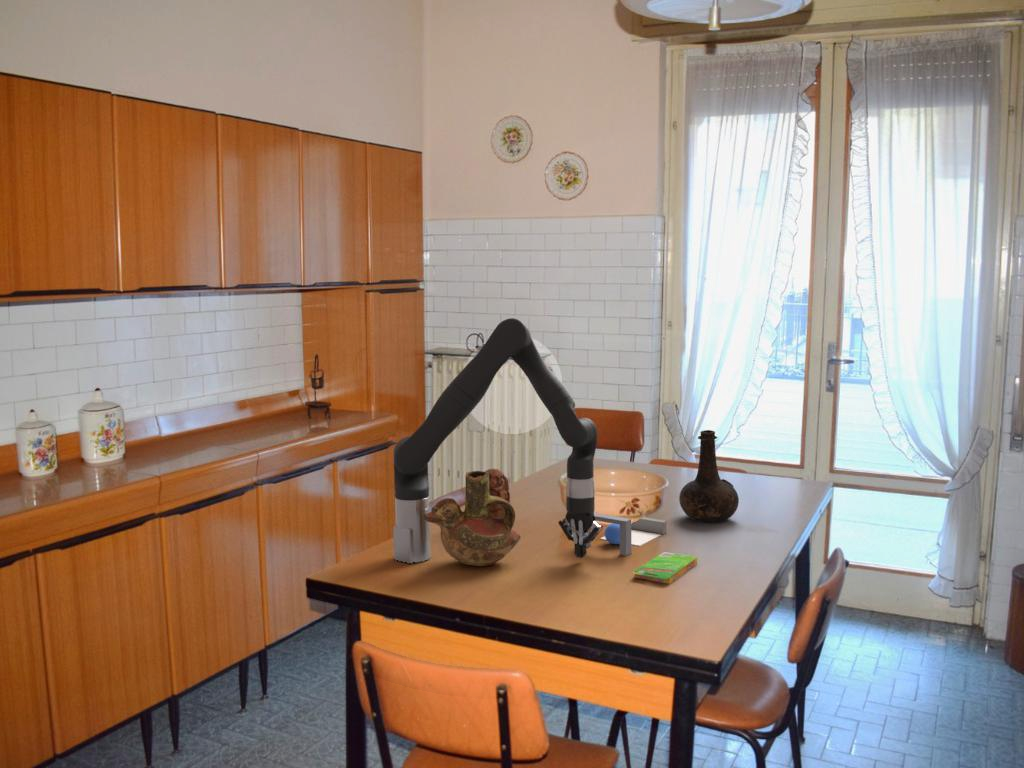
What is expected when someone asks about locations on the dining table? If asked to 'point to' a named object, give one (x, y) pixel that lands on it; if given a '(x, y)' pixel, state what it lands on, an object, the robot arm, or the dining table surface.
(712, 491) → the glass bottle
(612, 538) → the ball
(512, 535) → the ceramic vessel
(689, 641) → the dining table surface
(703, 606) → the dining table surface
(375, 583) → the dining table surface
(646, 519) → the wall
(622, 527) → the bridge
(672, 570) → the game box
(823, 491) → the dining table surface
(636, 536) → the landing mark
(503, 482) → the wooden figurine
